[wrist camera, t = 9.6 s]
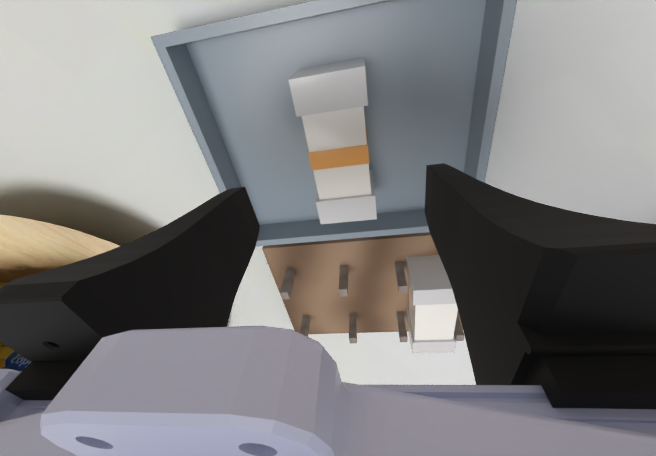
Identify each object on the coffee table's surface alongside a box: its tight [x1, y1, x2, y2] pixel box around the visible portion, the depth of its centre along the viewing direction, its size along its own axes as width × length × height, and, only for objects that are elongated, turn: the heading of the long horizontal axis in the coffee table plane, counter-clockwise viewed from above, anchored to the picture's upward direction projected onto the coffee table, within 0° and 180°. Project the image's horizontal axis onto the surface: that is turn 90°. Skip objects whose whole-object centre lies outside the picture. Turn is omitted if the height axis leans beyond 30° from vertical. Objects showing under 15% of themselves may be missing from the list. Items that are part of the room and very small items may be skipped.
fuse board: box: [262, 232, 464, 343], centre depth 24 cm, size 17×12×4 cm
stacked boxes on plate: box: [0, 215, 119, 372], centre depth 23 cm, size 25×25×17 cm
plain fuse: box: [406, 255, 458, 353], centre depth 23 cm, size 3×8×3 cm, turn 10°
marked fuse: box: [288, 57, 377, 224], centre depth 16 cm, size 3×8×3 cm, turn 10°
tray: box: [151, 0, 517, 246], centre depth 17 cm, size 16×13×2 cm
